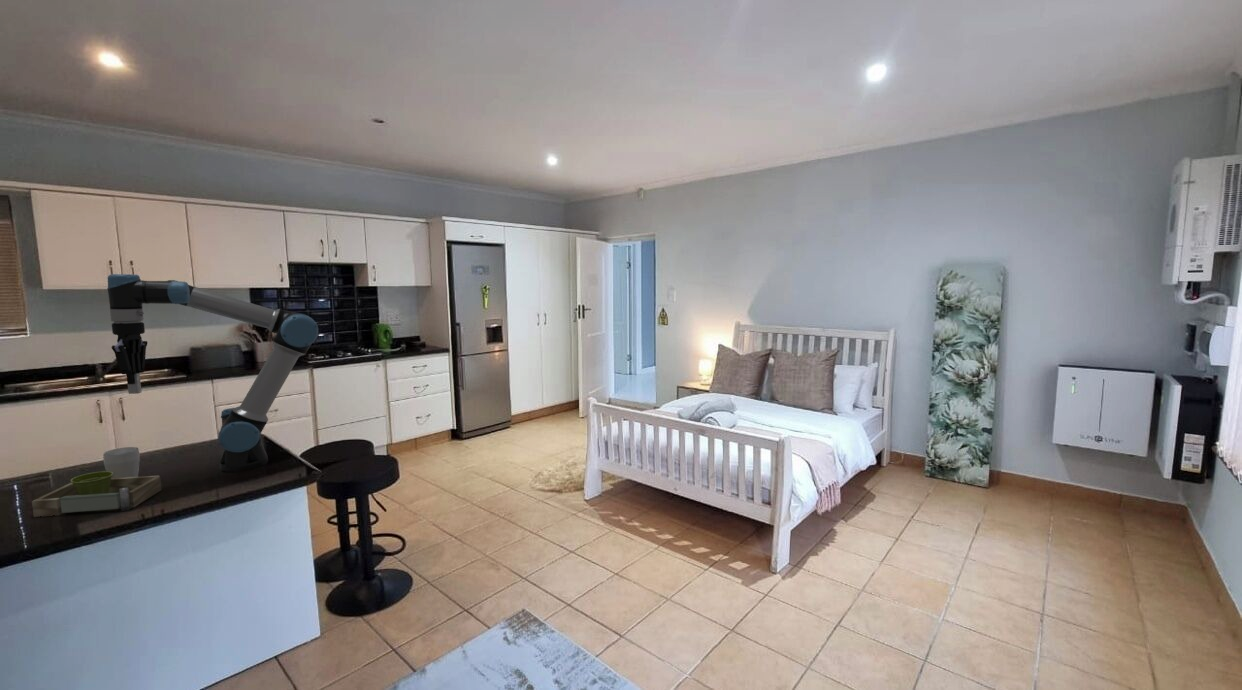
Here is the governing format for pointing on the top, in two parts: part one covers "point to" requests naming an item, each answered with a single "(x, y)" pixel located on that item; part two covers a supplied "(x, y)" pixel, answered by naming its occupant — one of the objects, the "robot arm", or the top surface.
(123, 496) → the hinge post
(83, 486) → the plant pot
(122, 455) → the cup
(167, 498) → the top surface
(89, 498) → the gate
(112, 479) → the pen walls
